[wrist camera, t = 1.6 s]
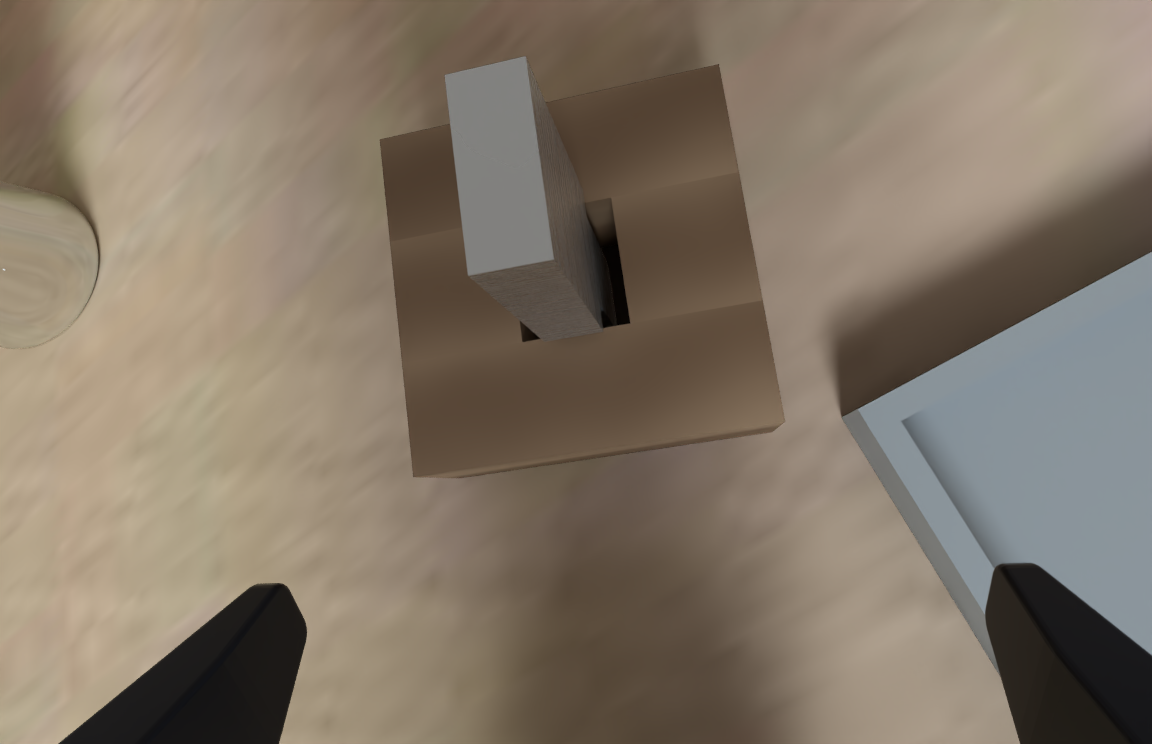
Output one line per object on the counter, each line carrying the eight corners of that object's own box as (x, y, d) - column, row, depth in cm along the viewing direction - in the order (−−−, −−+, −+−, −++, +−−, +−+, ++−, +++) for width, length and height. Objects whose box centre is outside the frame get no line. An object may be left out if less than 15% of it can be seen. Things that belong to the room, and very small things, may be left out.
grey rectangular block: (622, 359, 24) (553, 259, 13) (573, 367, 24) (467, 275, 14) (604, 241, 25) (525, 55, 14) (557, 250, 25) (444, 74, 14)
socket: (771, 431, 23) (785, 421, 19) (460, 478, 24) (413, 476, 20) (716, 130, 25) (718, 64, 21) (429, 190, 26) (379, 139, 22)
